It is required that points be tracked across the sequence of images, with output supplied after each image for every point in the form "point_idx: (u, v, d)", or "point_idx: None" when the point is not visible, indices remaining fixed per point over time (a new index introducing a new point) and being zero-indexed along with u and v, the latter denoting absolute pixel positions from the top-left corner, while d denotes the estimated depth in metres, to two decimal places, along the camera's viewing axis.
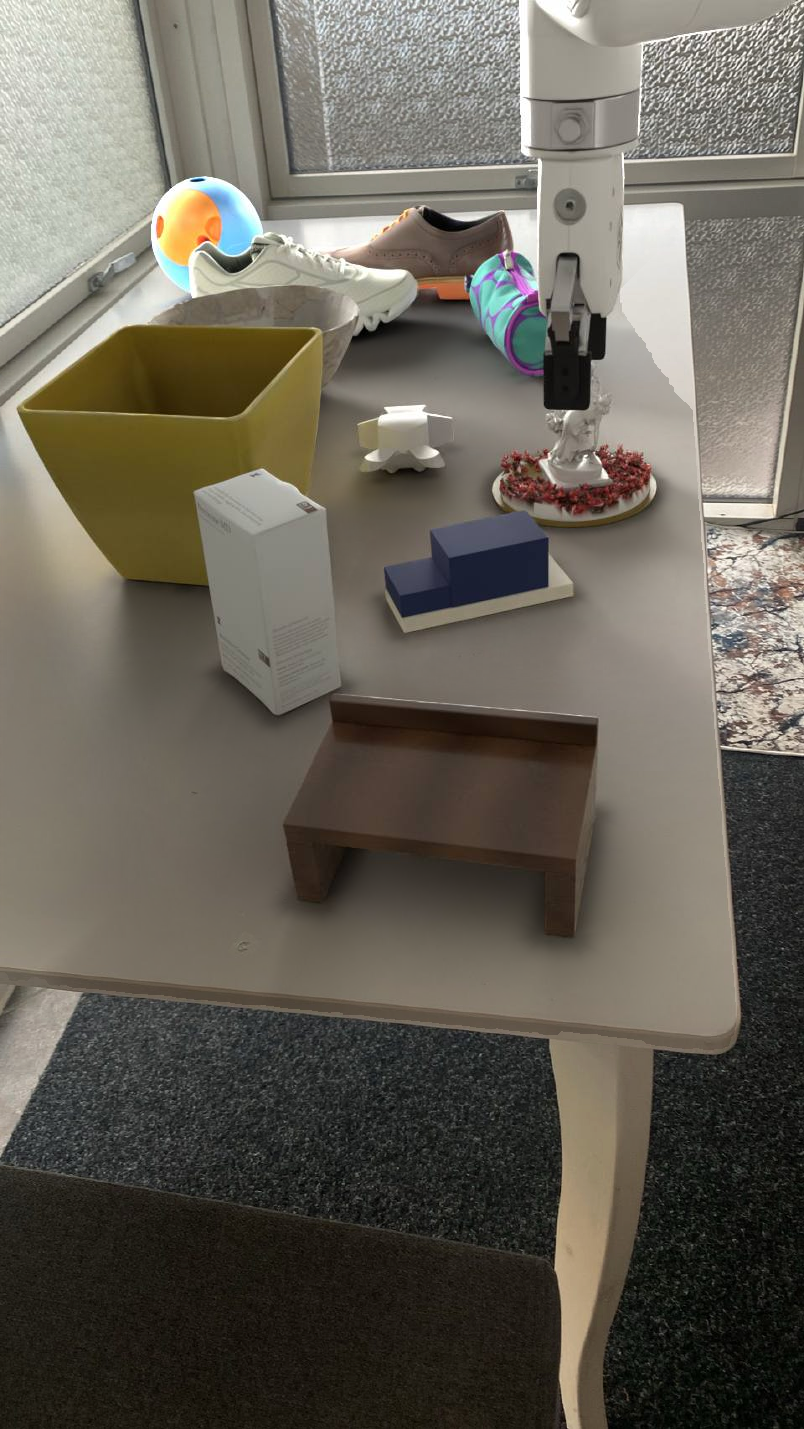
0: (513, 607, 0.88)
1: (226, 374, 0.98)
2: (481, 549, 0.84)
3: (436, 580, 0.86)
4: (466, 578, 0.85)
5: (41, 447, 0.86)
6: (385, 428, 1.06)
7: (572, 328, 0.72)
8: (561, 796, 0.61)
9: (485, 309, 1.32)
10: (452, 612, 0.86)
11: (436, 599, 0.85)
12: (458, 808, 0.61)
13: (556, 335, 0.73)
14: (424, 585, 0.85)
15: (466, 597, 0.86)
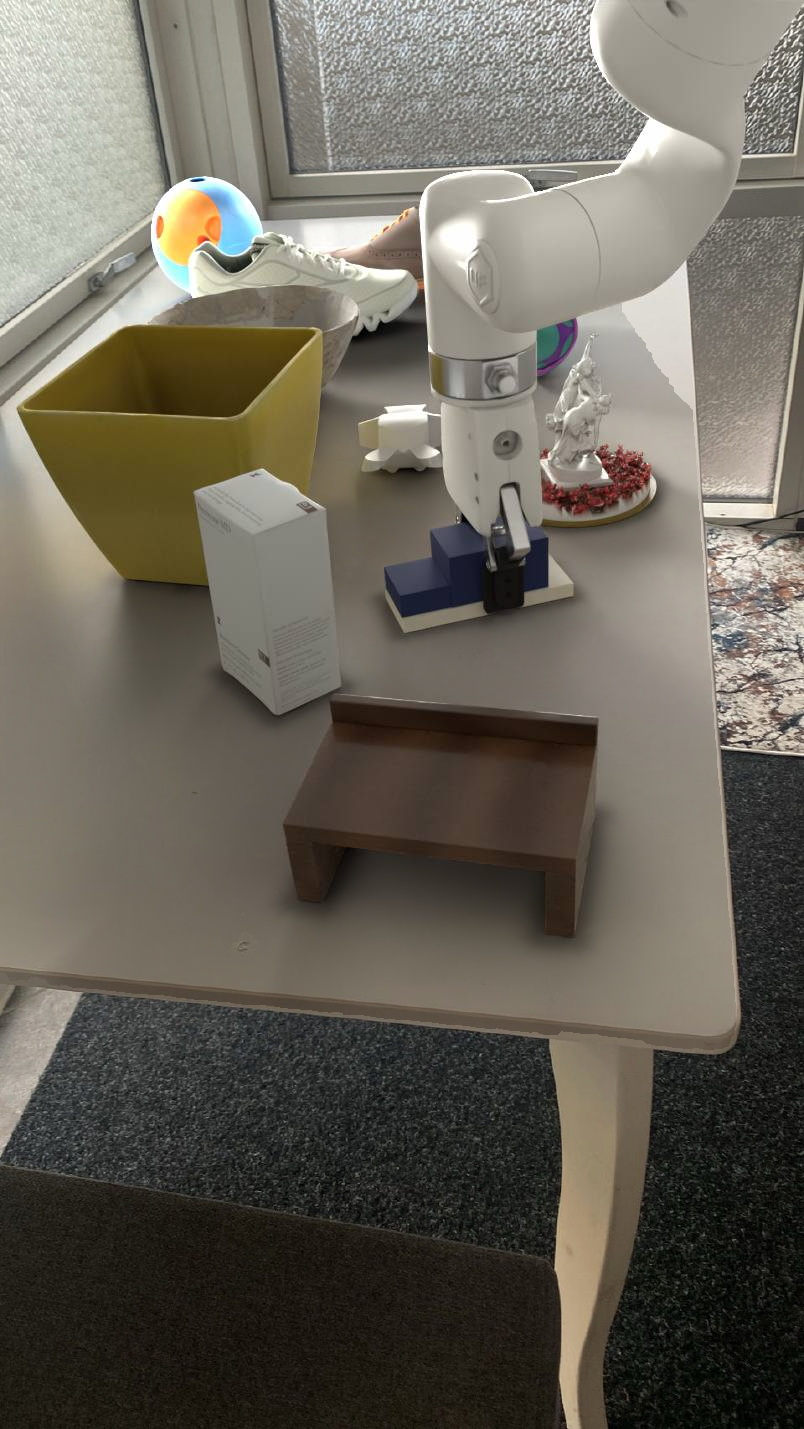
0: None
1: (226, 374, 0.98)
2: (481, 549, 0.84)
3: (436, 580, 0.86)
4: (466, 578, 0.85)
5: (41, 447, 0.86)
6: (385, 428, 1.06)
7: None
8: (561, 796, 0.61)
9: None
10: (452, 612, 0.86)
11: (436, 599, 0.85)
12: (458, 808, 0.61)
13: (510, 560, 0.81)
14: (424, 585, 0.85)
15: (466, 597, 0.86)
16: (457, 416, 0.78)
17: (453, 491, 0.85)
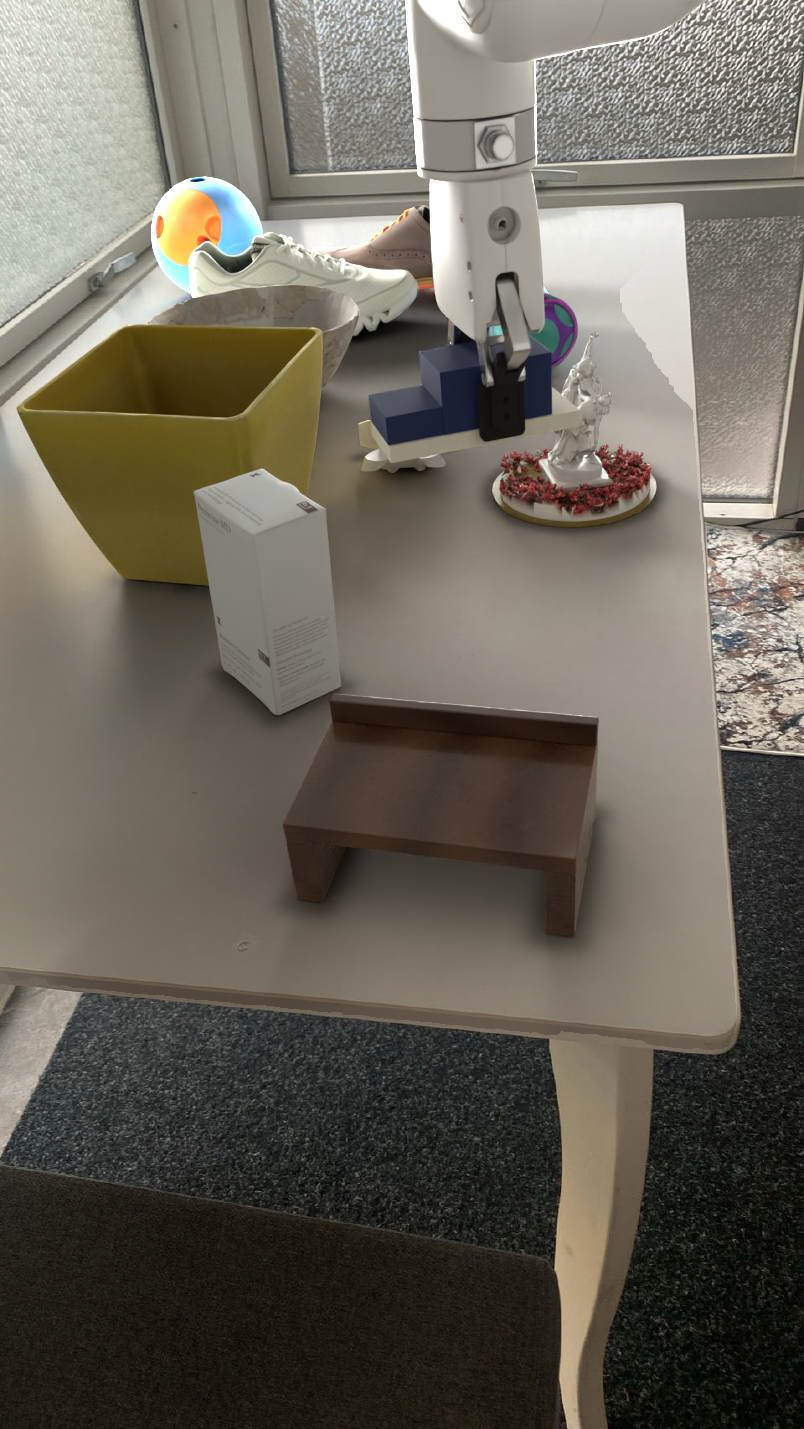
0: (513, 437, 0.78)
1: (226, 374, 0.98)
2: (476, 365, 0.75)
3: (426, 403, 0.77)
4: (460, 399, 0.76)
5: (41, 447, 0.86)
6: None
7: None
8: (561, 796, 0.61)
9: None
10: (444, 440, 0.77)
11: (426, 424, 0.76)
12: (458, 808, 0.61)
13: (508, 367, 0.72)
14: (412, 408, 0.76)
15: (460, 422, 0.77)
16: (447, 198, 0.70)
17: (444, 302, 0.76)
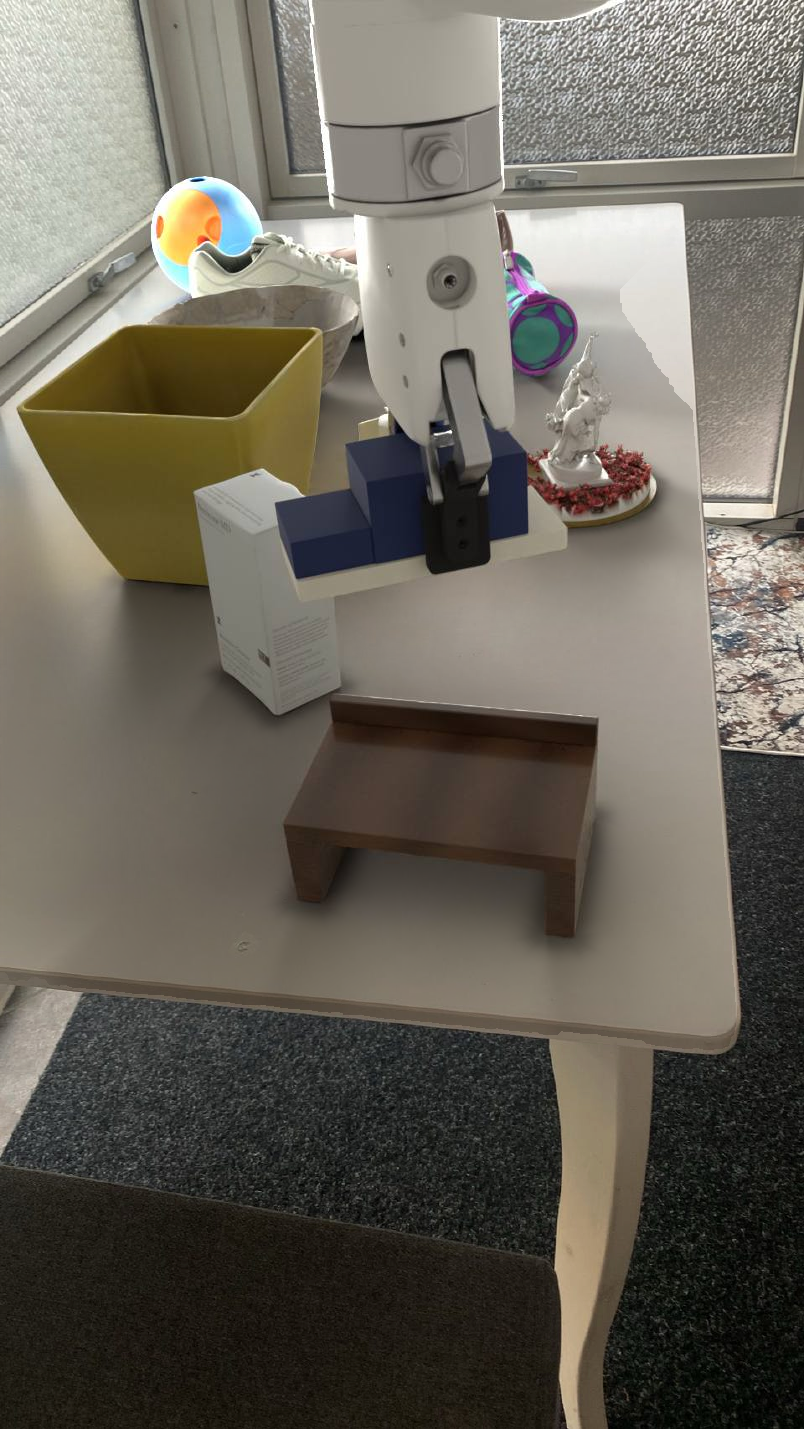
0: None
1: (226, 374, 0.98)
2: (419, 470, 0.53)
3: (351, 521, 0.55)
4: (397, 517, 0.54)
5: (41, 447, 0.86)
6: (386, 428, 1.06)
7: None
8: (561, 796, 0.61)
9: None
10: (376, 571, 0.55)
11: (350, 550, 0.54)
12: (458, 808, 0.61)
13: (461, 482, 0.50)
14: (330, 528, 0.54)
15: (398, 547, 0.55)
16: (371, 240, 0.47)
17: (378, 380, 0.54)
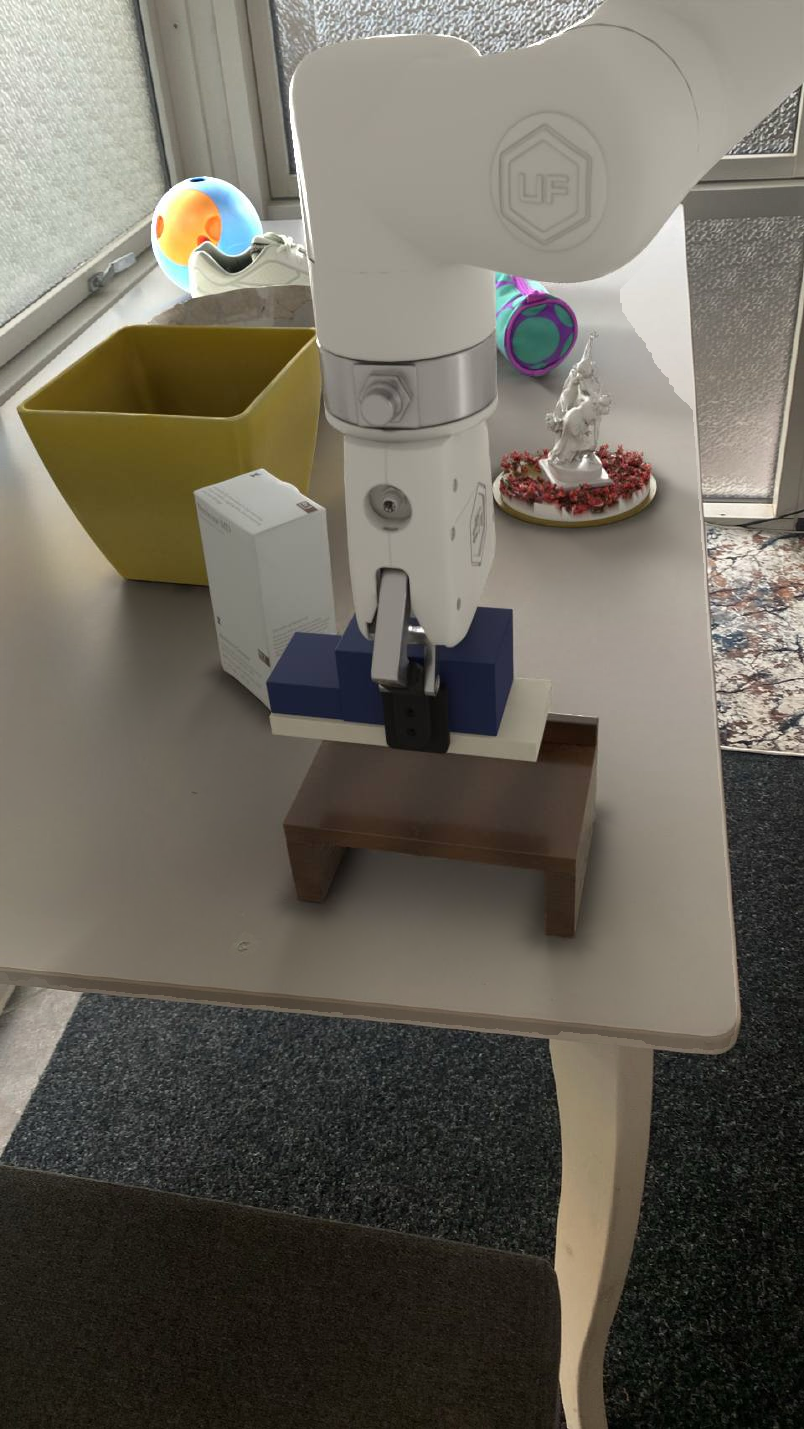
0: None
1: (226, 374, 0.98)
2: None
3: (332, 675, 0.57)
4: (363, 687, 0.56)
5: (41, 447, 0.86)
6: None
7: (410, 673, 0.50)
8: (561, 796, 0.61)
9: None
10: (342, 727, 0.57)
11: (320, 702, 0.57)
12: (458, 808, 0.61)
13: (388, 685, 0.51)
14: (309, 677, 0.57)
15: (364, 713, 0.57)
16: None
17: None
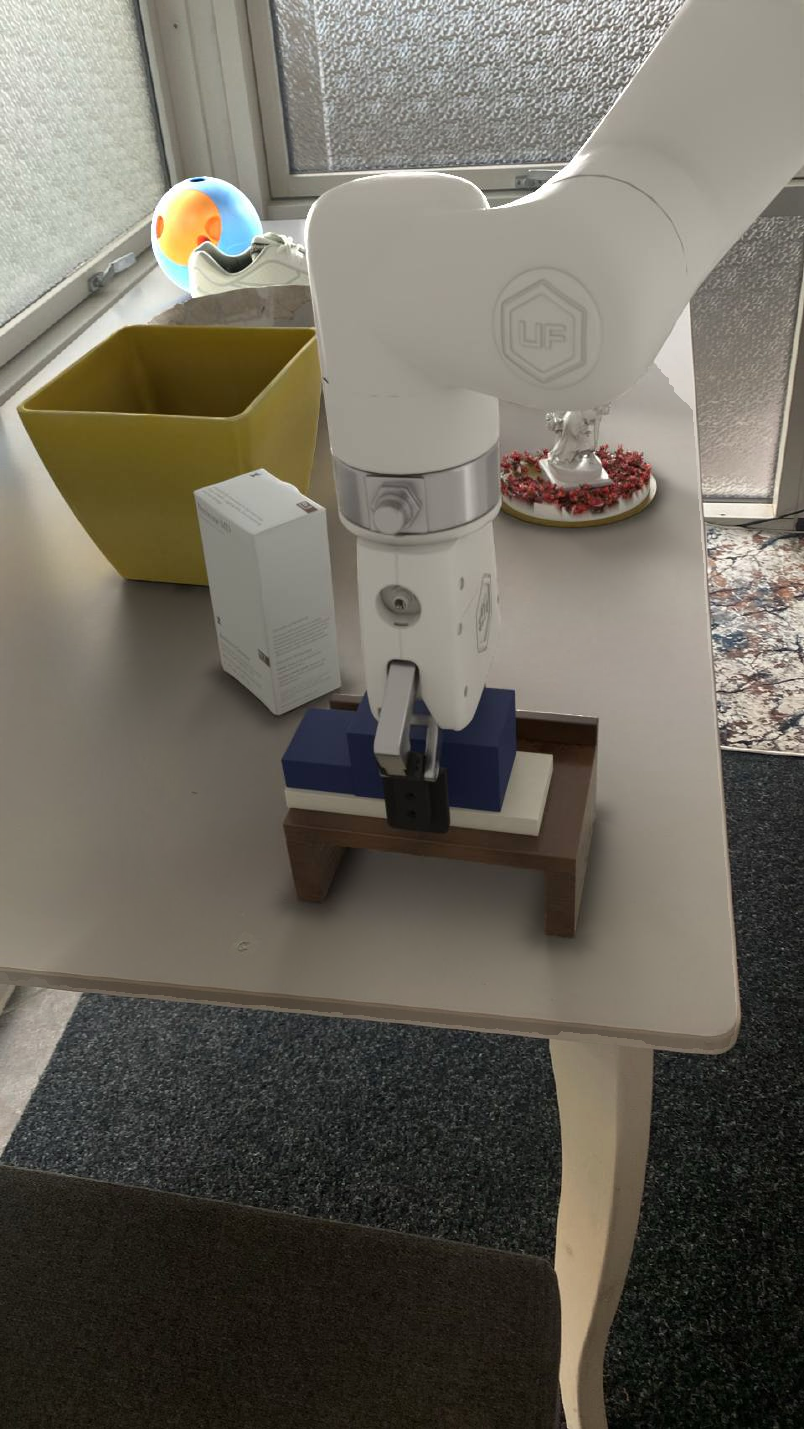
0: None
1: (226, 374, 0.98)
2: None
3: (343, 752, 0.60)
4: (374, 766, 0.59)
5: (41, 447, 0.86)
6: None
7: (409, 763, 0.51)
8: (561, 796, 0.61)
9: None
10: (353, 802, 0.60)
11: (332, 778, 0.60)
12: None
13: (388, 770, 0.51)
14: (322, 755, 0.60)
15: (375, 789, 0.60)
16: None
17: None
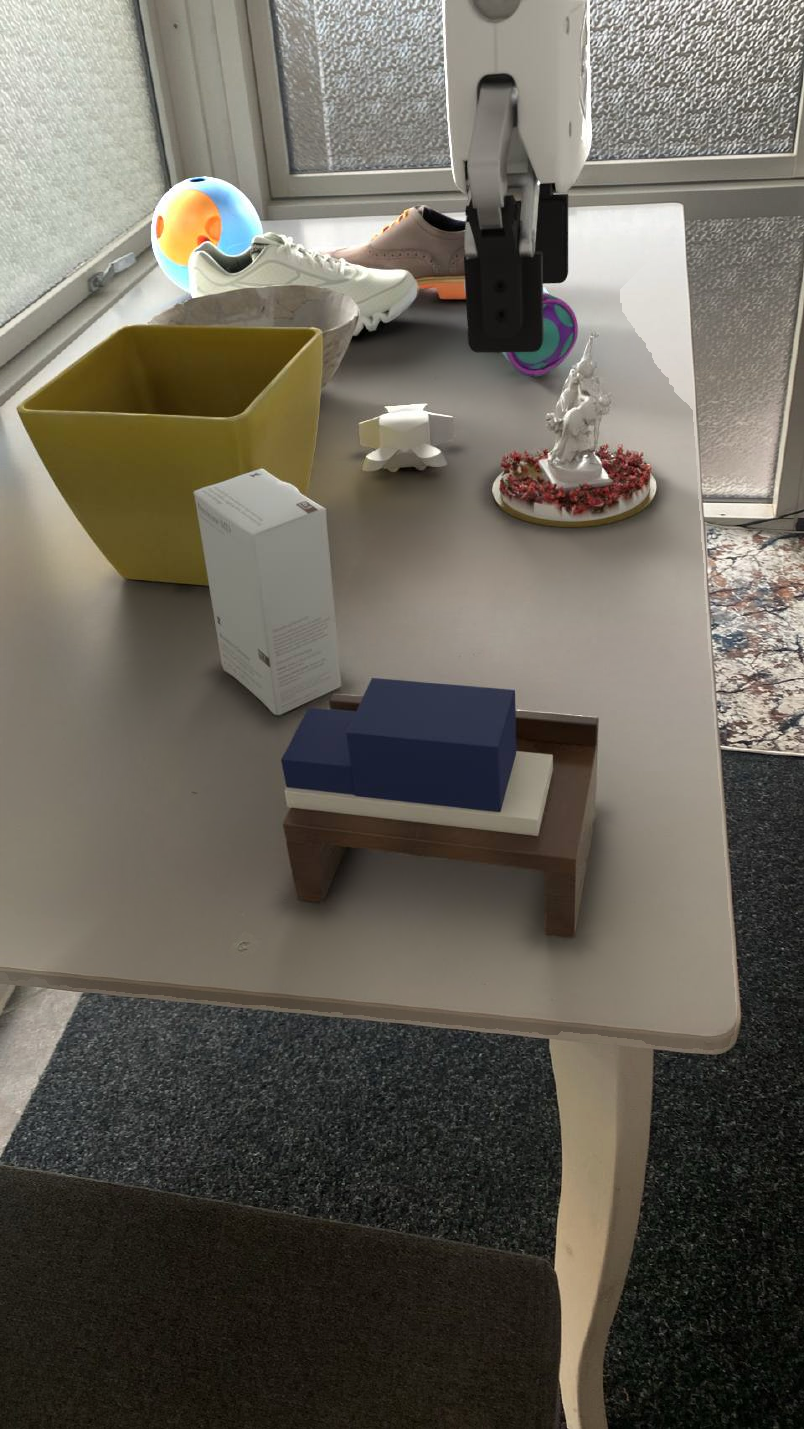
0: (444, 823, 0.60)
1: (226, 374, 0.98)
2: (396, 735, 0.57)
3: (343, 752, 0.60)
4: (374, 766, 0.59)
5: (41, 447, 0.86)
6: (386, 427, 1.06)
7: (507, 204, 0.42)
8: (561, 796, 0.61)
9: None
10: (353, 802, 0.60)
11: (332, 778, 0.60)
12: None
13: (480, 217, 0.43)
14: (322, 755, 0.60)
15: (375, 789, 0.60)
16: None
17: None
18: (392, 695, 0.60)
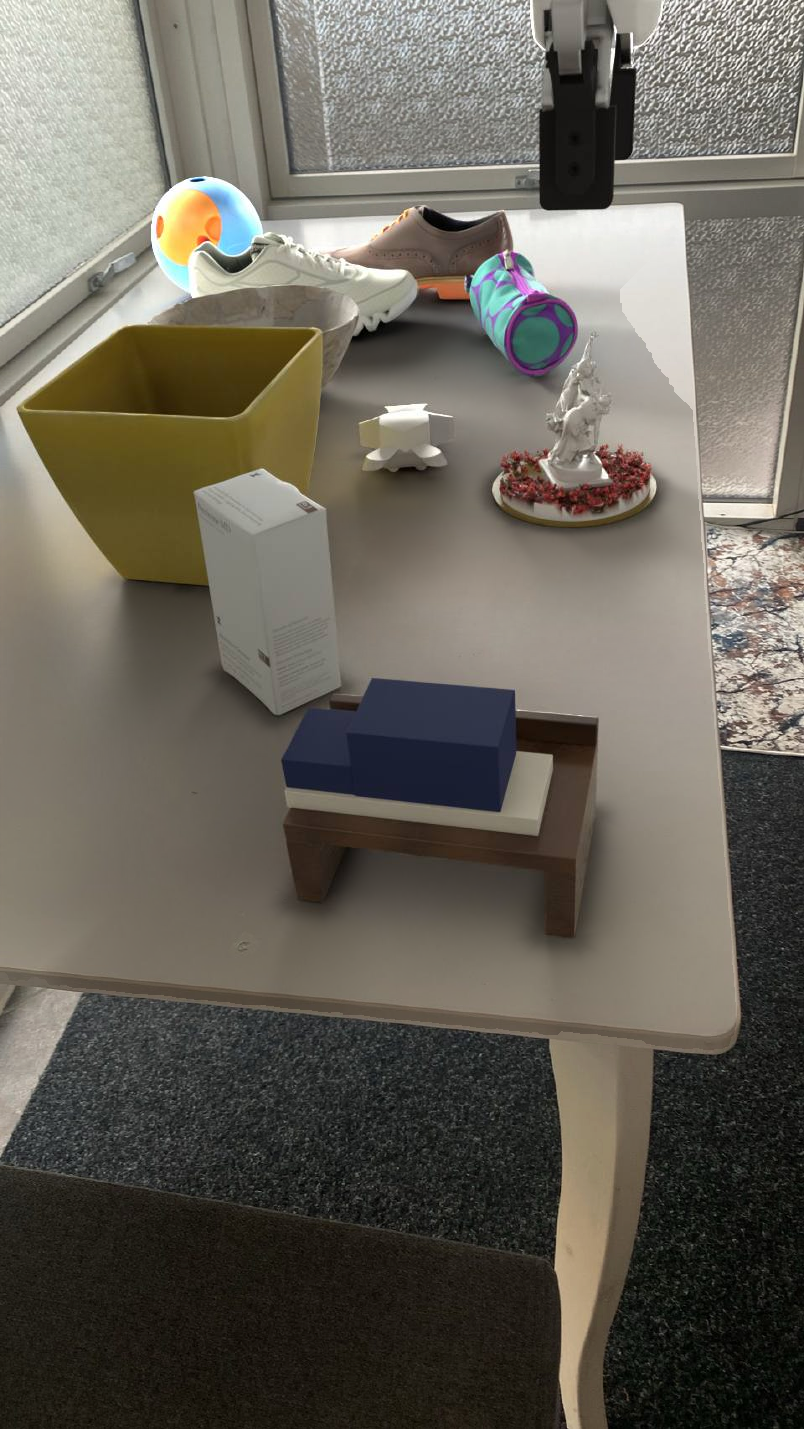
0: (444, 823, 0.60)
1: (226, 374, 0.98)
2: (396, 735, 0.57)
3: (343, 752, 0.60)
4: (374, 766, 0.59)
5: (41, 447, 0.86)
6: (386, 427, 1.06)
7: (587, 47, 0.44)
8: (561, 796, 0.61)
9: (485, 309, 1.32)
10: (353, 802, 0.60)
11: (332, 778, 0.60)
12: None
13: (560, 61, 0.44)
14: (322, 755, 0.60)
15: (375, 789, 0.60)
16: None
17: None
18: (392, 695, 0.60)
